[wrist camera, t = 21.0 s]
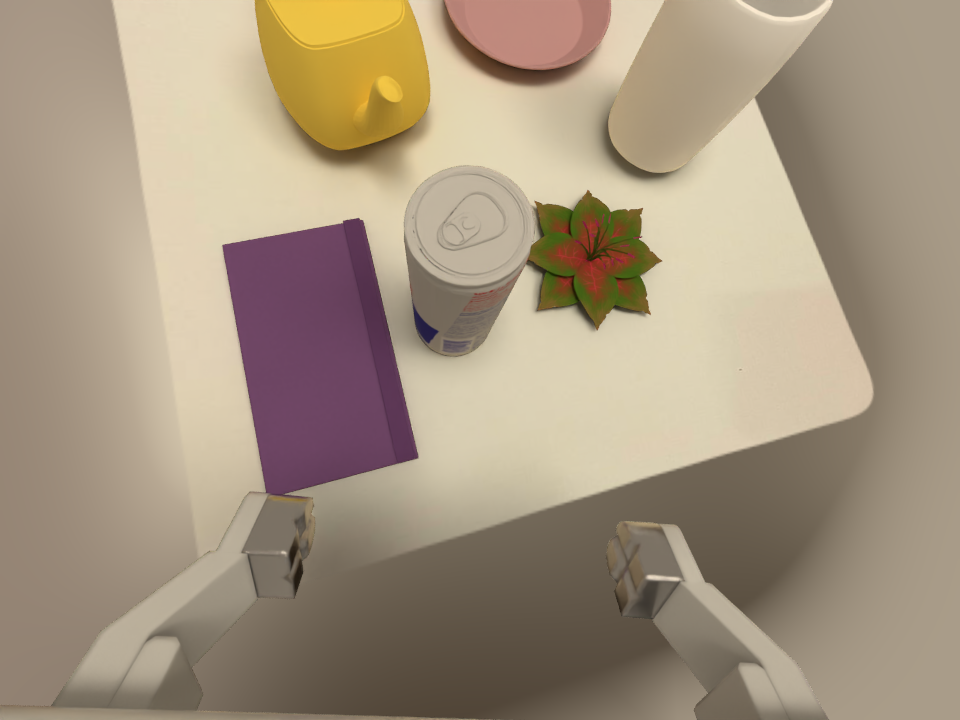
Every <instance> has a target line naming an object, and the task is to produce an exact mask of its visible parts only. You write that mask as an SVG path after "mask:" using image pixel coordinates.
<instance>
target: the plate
mask: <svg viewBox="0 0 960 720" xmlns="http://www.w3.org/2000/svg"><path fill="white" fill-rule="evenodd" d="M444 1H445V5H446V8H447V11H448V13H449V16H450V18H451V19H452V21H453V23H454V25H455V26H456V28H457V29H458V30H459V32H460V33H461V34H462V35H463V36H464V38H465V39H466V40H467V41H468V42H470V43H471V44H472V45H473V46H474V47H475V48H477V49H478V50H479V51H481V52H482V53H484V54H485V55H487V56H489V57H491V58H493V59H495V60H497V61H499V62H501V63H504V64H506V65H509V66H513V67H517V68H522V69H531V70H547V69H555V68H560V67H564V66H567V65H570V64H572V63H575V62H577V61H579V60H580V59H582V58H584V57H585V56H587V55H588V54H589V53H590V52H591V51H593V50H594V49H595V48H596V46H597V45H598V44H599V43H600V41H601V40H602V38H603V37H604V35H605V33H606V31H607V28H608V25H609V21H610V15H611V0H444Z"/></svg>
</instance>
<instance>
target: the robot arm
mask: <svg viewBox="0 0 960 720" xmlns="http://www.w3.org/2000/svg"><path fill="white" fill-rule="evenodd" d="M313 507H314V503H313V498H311V497H301V496H291V495H281V494H272V493H261V492H249V493H248V494H247V495H246V496H245V497H244V499H243V501H242V503H241V505H240V506H239V508H238V510H237V512H236V514H235V516H234V518H233V520H232V522H231V523H230V525H229V527H228V529H227V531H226V533H225V535H224V537H223V539H222V540H221V542H220V544H219V546H218V548H217V550H216V551H209V552H207V553H206V554H205V555H203V556H202V557H201V558H199V559H198V560H196V561H195V562H194V563H193V564H191V565H190V566H188V567H187V568H186V569H184V570H183V571H182V572H180V573H179V574H178V575H176V576H175V577H173V578H172V579H171V580H170V581H168V582H167V583H165V584H164V585H163V586H161V587H160V588H158V589H157V590H156V591H154V592H153V593H152V594H150V595H149V596H148V597H146V598H145V599H144V600H142V601H141V602H140V603H138V604H137V605H135V606H134V607H133V608H131V609H130V610H129V611H127V612H126V613H125V614H123V615H122V616H121V617H119V618H118V619H116V620H115V621H114V622H112V623H111V624H110V625H108V626H107V627H106V628H104V629H103V630H102V631H101V632H100V633H99V634H98V636H97V638H96V639H95V640H94V642H93V643H92V645H91V647H90V648H89V649H88V651H87V653H86V654H85V655H84V657H83V659H82V660H81V662H80V663H79V665H78V666H77V668H76V669H75V671H74V672H73V674H72V675H71V677H70V678H69V680H68V681H67V683H66V684H65V686H64V687H63V689H62V690H61V692H60V693H59V695H58V696H57V698H56V700H55V701H54V702H53V704H52V705H51V706H18V705H17V706H16V705H0V720H494V719H463V718H429V717H395V716H361V715H358V716H357V715H327V714H293V713H259V712H224V711H197V708H198V706H199V704H200V701H201V699H202V696H203V692H202V689H201V687H200V685H199V683H198V680H197V678H196V676H195V674H194V672H193V670H192V667H193V666H194V665H195V664H196V663H197V662H198V661H199V660H200V659H201V658H202V657H203V656H204V655H205V654H206V653H207V652H208V651H209V650H210V649H211V648H212V647H213V645H214V644H215V643H216V642H217V641H218V640H219V639H220V638H221V637H222V636H223V635H224V634H225V633H226V632H227V631H228V630H229V629H230V628H231V627H232V626H233V625H234V624H235V623H236V622H237V621H238V620H239V619H240V618H241V617H242V616H243V615H244V614H245V613H246V612H247V610H249V608H250V607H251V606H252V605H253V604H254V603H255V602H256V601H257V600H258V598H291V599H294V598H295V595H296V592H297V589H298V586H299V583H300V580H301V577H302V574H303V565H302V561H303V560H304V559H305V558H306V557H307V556H308V555H309V553H310V550H311V547H312V543H313V538H314V534H315V517H314V516H313V515H312V514H311V513H312V510H313ZM616 531H617V534H618V535H617V536H615V537H613V538H612V539H611V540H610V542H609V544H608V546H607V554H606V559H607V566H608V570H609V574H610V575H611V576H612V578H613V579H614V580H615V581H616V582H617V586H616V588H615V595H616V599H617V602H618V605H619V609H620V612H621V616H622V617H633V618H645V619H653V622H654V624H655V625H656V626H657V628H658V629H659V630H660V631H661V633H662V634H663V635H664V637H665V638H666V639H667V640H668V642H669V643H670V644H671V646H672V647H673V648H674V649H675V651H676V652H677V653H678V655H679V656H680V657H681V658H682V660H683V661H684V662H685V663H686V665H687V666H688V667H689V669H690V670H691V671H692V673H693V674H694V675H695V677H696V678H697V679H698V680H699V682H700V683H701V684H702V686H703V687H704V688H705V689H706V691H707V692H708V694H707V695H706V696H705V697H704V698H703V699H702V700H701V701H700V702H699V703H697V705H696V707H695V708H694V712H695V715H696V718H697V720H829V719H828V718H827V716H826V714H825V712H824V710H823V709H822V707H821V705H820V704H819V701H818V700H817V698H816V696H815V694H814V692H813V691H812V689H811V687H810V685H809V683H808V682H807V680H806V678H805V676H804V675H803V673H802V671H801V669H800V667H799V665H798V664H797V663H796V662H795V661H794V660H793V659H792V658H791V657H790V656H789V655H788V654H786V653H785V652H784V651H783V650H782V649H781V648H780V647H779V646H778V645H777V644H776V643H775V642H774V641H772V640H771V639H770V638H769V637H768V636H767V635H766V634H765V633H764V632H763V631H762V630H760V629H759V628H758V627H757V626H756V625H755V624H754V623H753V622H752V621H751V620H750V619H749V618H747V616H745V615H744V614H743V613H742V612H741V611H740V610H739V609H738V608H737V607H736V606H735V605H734V604H732V603H731V602H730V601H729V600H728V599H727V598H726V597H725V596H724V595H723V594H722V593H721V592H720V591H718V590H717V589H716V588H715V587H714V586H713V585H712V584H711V583H705V581H704V579H703V577H702V575H701V572H700V571H699V568H698V566H697V564H696V562H695V560H694V558H693V556H692V553H691V551H690V549H689V547H688V545H687V543H686V541H685V539H684V537H683V534H682V532H681V530H680V529H679V528H678V527H677V526H676V525H669V524H656V523H648V522H631V521H622V522H620V523H619V524H618V526H617V528H616ZM495 720H496V719H495ZM497 720H498V719H497Z"/></svg>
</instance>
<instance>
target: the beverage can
mask: <svg viewBox="0 0 960 720" xmlns="http://www.w3.org/2000/svg"><path fill="white" fill-rule="evenodd" d="M534 232H535V225H534V215H533V211H532V208H531V205H530V203H529V201H528V199H527V197H526V196H525V194H524V193H523V191H522V190H521V189H520V188H519V187H518V186H517V185H516V184H515V183H514V182H513V181H512V180H511V179H509V178H508V177H506V176H504V175H503V174H501V173H499V172H497V171H494V170H492V169H489V168H485V167H481V166H456V167H452V168H448V169H445V170H442V171H440V172H438V173H436V174H434V175H433V176H431V177H430V178H428V179H427V180H425V181H424V182H423V183H422V184H421V185H420V186H419V187H418V188H417V189H416V191H415V192H414V194H413V195H412V197H411V199H410V201H409V203H408V205H407V208H406V212H405V217H404V242H405V250H406V257H407V265H408V272H409V280H410V288H411V295H412V303H413V310H414V318H415V325H416V329H417V332H418V334H419V336H420V338H421V339H422V341H423V342H424V343H425V344H426V345H427V346H428V347H429V348H431V349H432V350H434V351H436V352H438V353H440V354H443V355H448V356H459V355H464V354H467V353H470V352H472V351H474V350H475V349H476V348H478V347H479V346H480V345H481V344H482V343H483V342H484V340H485V339H486V337H487V335H488V334H489V332H490V330H491V328H492V326H493V324H494V322H495V320H496V319H497V317H498V315H499V313H500V311H501V309H502V307H503V306H504V304H505V302H506V300H507V298H508V296H509V294H510V292H511V291H512V289H513V287H514V285H515V283H516V281H517V279H518V277H519V276H520V274H521V272H522V270H523V268H524V266H525V264H526V262H527V260H528V258H529V255H530V249H531V245H532V242H533V238H534Z"/></svg>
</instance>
